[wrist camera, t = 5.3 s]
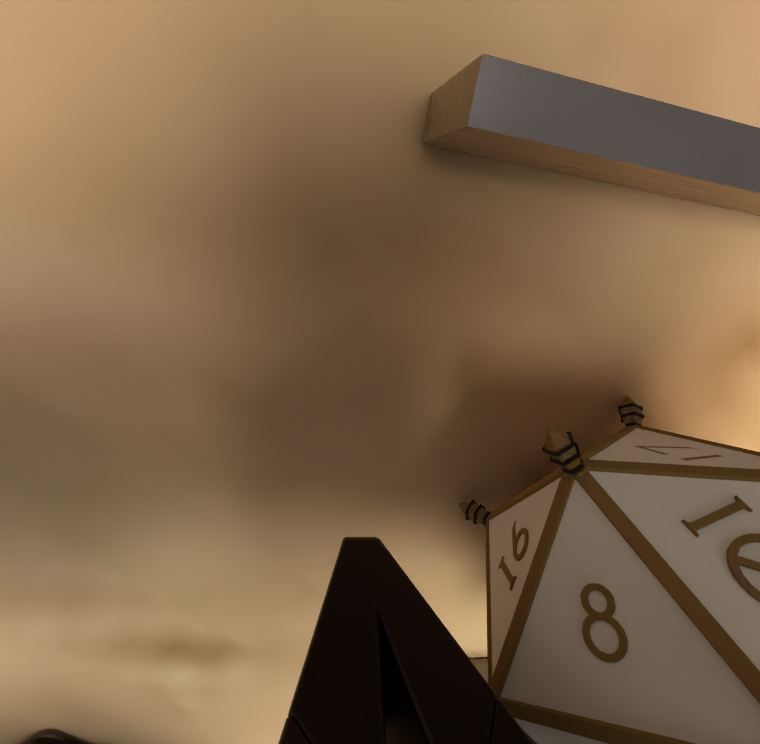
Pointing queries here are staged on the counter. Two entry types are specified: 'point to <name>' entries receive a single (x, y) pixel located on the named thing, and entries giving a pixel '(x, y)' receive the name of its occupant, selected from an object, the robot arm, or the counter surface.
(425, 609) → the robot arm
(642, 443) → the game die
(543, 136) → the lane rails
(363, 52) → the counter surface
